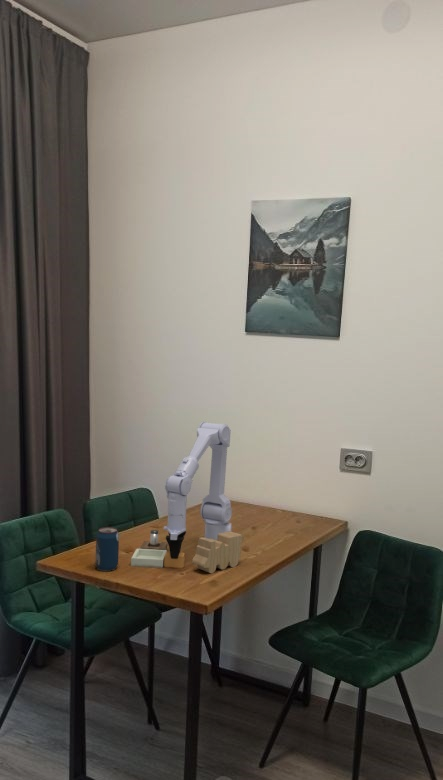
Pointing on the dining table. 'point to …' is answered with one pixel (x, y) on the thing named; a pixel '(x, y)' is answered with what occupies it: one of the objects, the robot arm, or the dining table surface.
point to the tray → (148, 558)
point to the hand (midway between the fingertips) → (175, 556)
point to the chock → (174, 560)
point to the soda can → (107, 549)
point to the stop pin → (154, 538)
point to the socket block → (160, 547)
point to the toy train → (218, 552)
